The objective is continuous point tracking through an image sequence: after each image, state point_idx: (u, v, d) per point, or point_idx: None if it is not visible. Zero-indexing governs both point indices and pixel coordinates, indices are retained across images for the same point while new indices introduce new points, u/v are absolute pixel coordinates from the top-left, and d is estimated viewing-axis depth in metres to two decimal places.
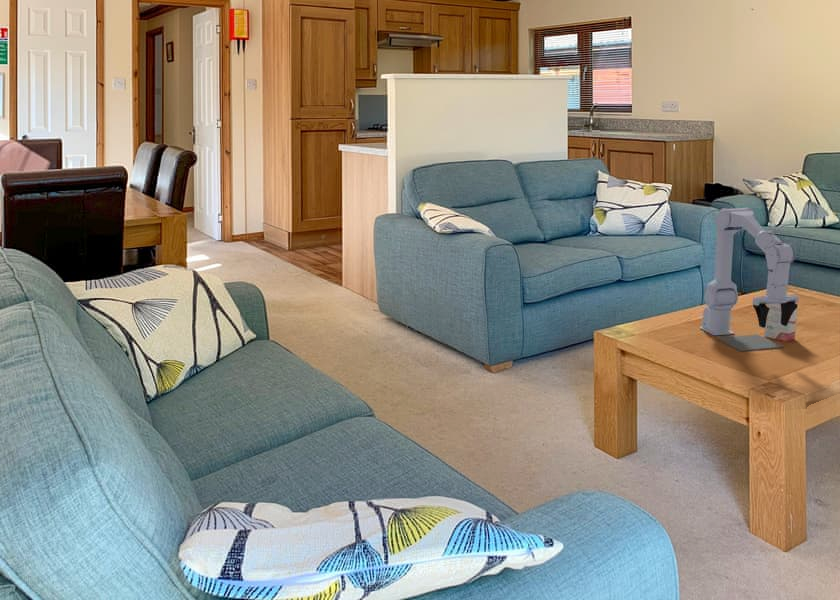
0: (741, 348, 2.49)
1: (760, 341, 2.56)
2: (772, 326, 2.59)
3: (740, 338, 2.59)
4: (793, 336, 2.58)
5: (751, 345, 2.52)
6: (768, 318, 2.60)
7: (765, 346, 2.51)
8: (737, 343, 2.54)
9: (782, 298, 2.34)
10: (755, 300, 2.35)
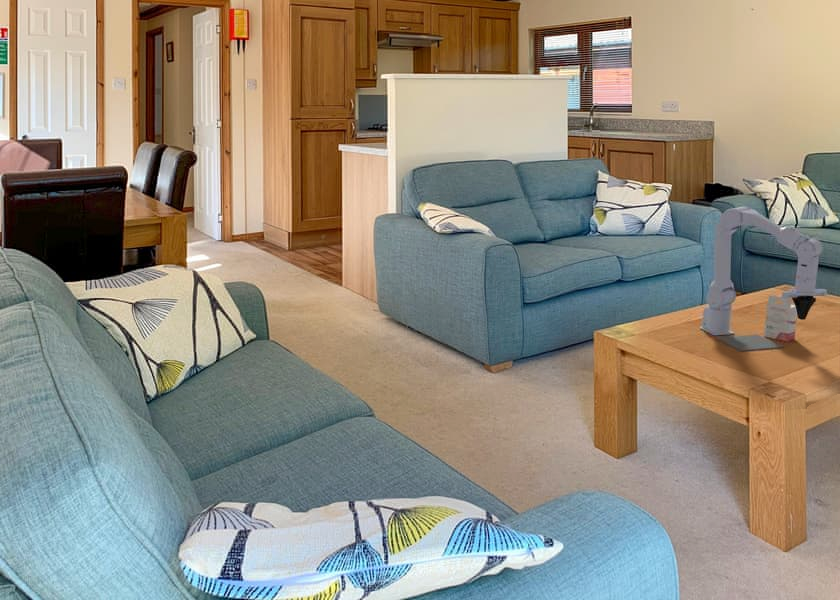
0: (741, 348, 2.49)
1: (760, 341, 2.56)
2: (772, 326, 2.59)
3: (740, 338, 2.59)
4: (793, 336, 2.58)
5: (751, 345, 2.52)
6: (768, 318, 2.60)
7: (765, 346, 2.51)
8: (737, 343, 2.54)
9: (811, 291, 2.40)
10: (784, 293, 2.42)
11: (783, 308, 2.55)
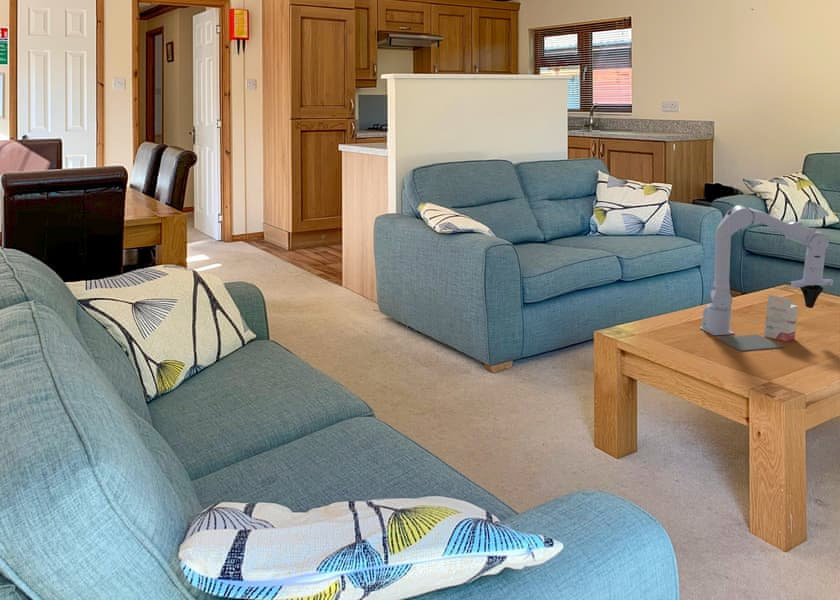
0: (741, 348, 2.49)
1: (760, 341, 2.56)
2: (772, 326, 2.59)
3: (740, 338, 2.59)
4: (793, 336, 2.58)
5: (751, 345, 2.52)
6: (768, 318, 2.60)
7: (765, 346, 2.51)
8: (737, 343, 2.54)
9: (818, 281, 2.54)
10: (793, 283, 2.55)
11: (783, 308, 2.55)
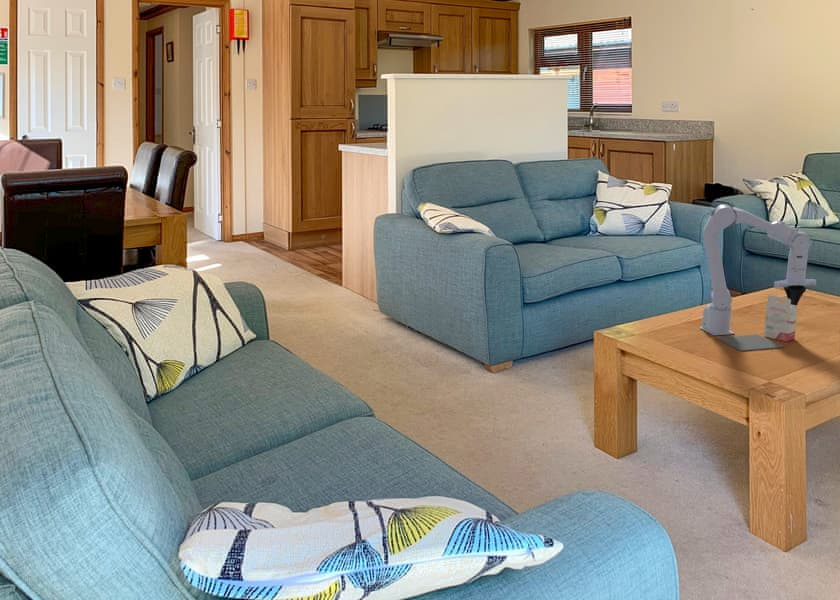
0: (741, 348, 2.49)
1: (760, 341, 2.56)
2: (772, 326, 2.59)
3: (740, 338, 2.59)
4: (793, 336, 2.58)
5: (751, 345, 2.52)
6: (767, 318, 2.60)
7: (765, 346, 2.51)
8: (737, 343, 2.54)
9: (801, 281, 2.54)
10: (776, 283, 2.55)
11: (782, 308, 2.55)
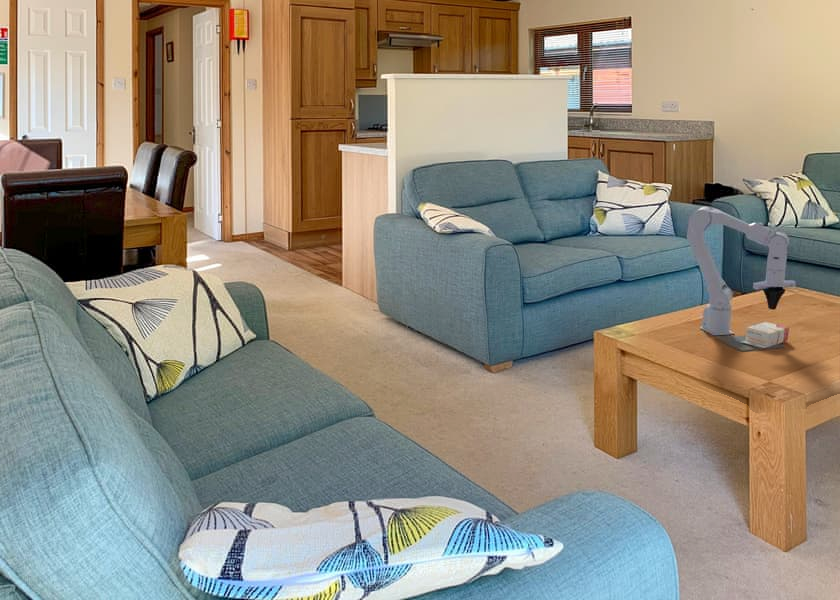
0: (741, 348, 2.49)
1: None
2: None
3: (740, 338, 2.59)
4: (787, 331, 2.54)
5: (751, 345, 2.52)
6: None
7: None
8: (737, 343, 2.54)
9: (780, 283, 2.52)
10: (755, 284, 2.54)
11: None
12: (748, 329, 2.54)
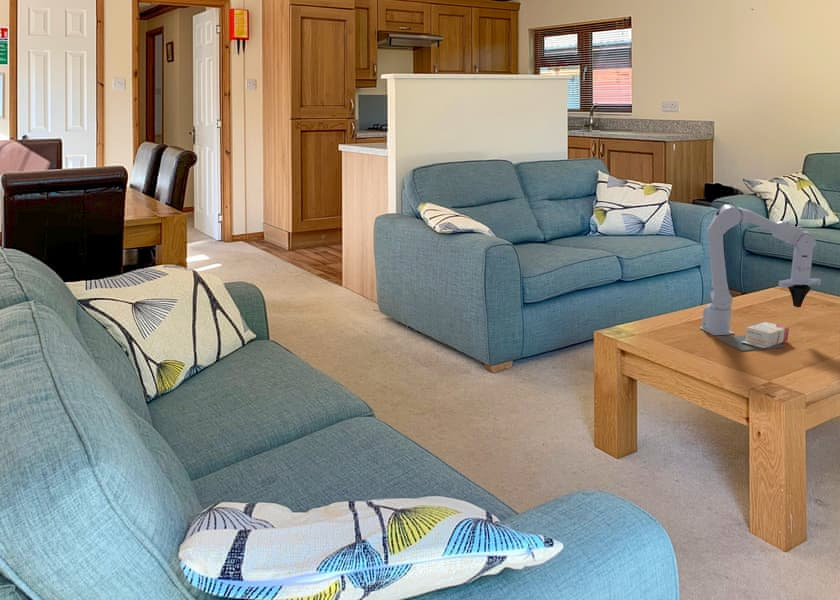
0: (741, 348, 2.49)
1: None
2: None
3: (740, 338, 2.59)
4: (787, 331, 2.54)
5: (751, 345, 2.52)
6: None
7: None
8: (737, 343, 2.54)
9: (806, 280, 2.55)
10: (781, 282, 2.56)
11: None
12: (748, 329, 2.54)
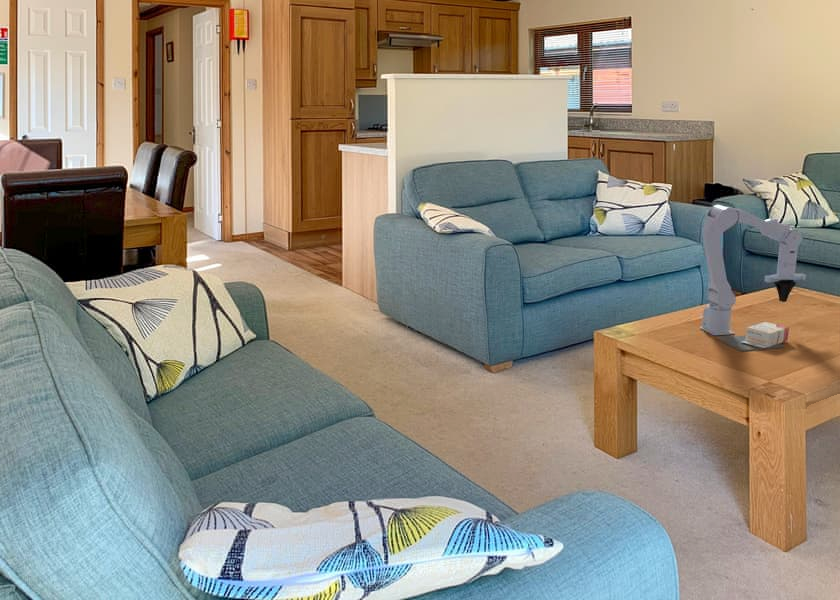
0: (741, 348, 2.49)
1: None
2: None
3: (740, 338, 2.59)
4: (787, 331, 2.54)
5: (751, 345, 2.52)
6: None
7: None
8: (737, 343, 2.54)
9: (791, 276, 2.62)
10: (767, 277, 2.63)
11: None
12: (748, 329, 2.54)
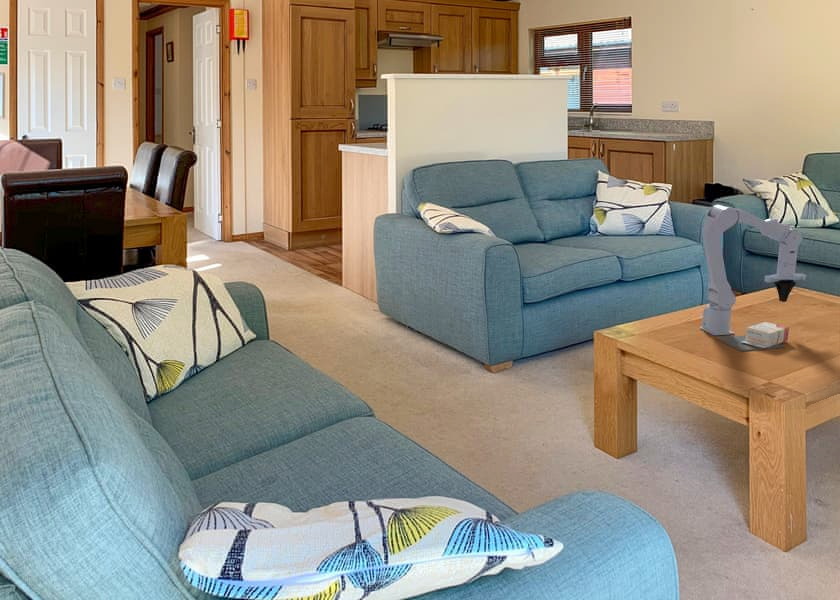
0: (741, 348, 2.49)
1: None
2: None
3: (740, 338, 2.59)
4: (787, 331, 2.54)
5: (751, 345, 2.52)
6: None
7: None
8: (737, 343, 2.54)
9: (791, 276, 2.62)
10: (767, 277, 2.63)
11: None
12: (748, 329, 2.54)
